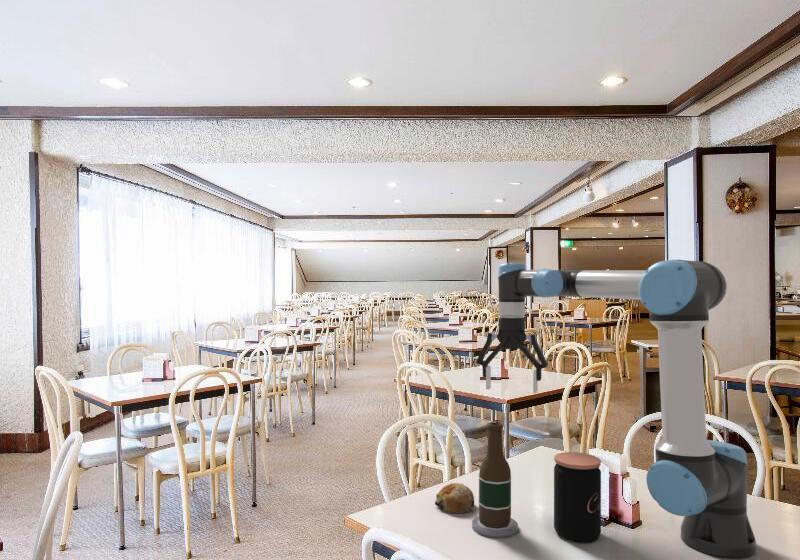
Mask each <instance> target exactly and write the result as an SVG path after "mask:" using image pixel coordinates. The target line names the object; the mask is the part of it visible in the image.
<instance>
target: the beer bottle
mask: <svg viewBox="0 0 800 560" xmlns="http://www.w3.org/2000/svg"><path fill="white" fill-rule="evenodd" d="M503 428H504V426H503V424H502V423H499V422H489V423H488V424H487V429H488V434H487V435H488V436H487V449H486V456H485V458H484V460H482V462H481V464H480V467H479V473H478V516H479V521H480V523H482V524H483V525H484V526H486V527H490V528H496V529H498V528H504V527H508V525H509V523H510V521H511V518H512V473H511V468H510V465H509V462H508V461H507V459H506V457H505V454H504V448H503V431H502V430H503Z"/></svg>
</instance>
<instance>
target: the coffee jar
mask: <svg viewBox="0 0 800 560" xmlns="http://www.w3.org/2000/svg"><path fill="white" fill-rule="evenodd" d="M553 459H554V462H555V464H554V467H553V527H554V531H555V532H556V533H557V536H559V538H561V539H563V540H565V541H567V542H571V543H576V544H591V543H594V542H596V541H597V540H598V539H599V538H600V536H601V533H602V472H601V471H602V470H601V469H600V467H601V464H602V463H601V462H602V460H601V458H599V457H597V456H596V455H592V454H589V453H584V452H575V451H572V452H571V451H568V452H560V453H557V454H555V455H554V457H553Z"/></svg>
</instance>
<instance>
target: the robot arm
mask: <svg viewBox="0 0 800 560" xmlns="http://www.w3.org/2000/svg"><path fill="white" fill-rule="evenodd" d="M497 280H498V281H497V283H498V310H497V311H498V313H497V314H498V316H499V317H498V323H497V325H498V328H497V329H498V330H497V331H498V332H497V333H493V332H489V333H487V335H486V340H485V343H484V344H483V345H484V346H482V349H481V351H480V353H479V355H478V357H477V359H476V364H477V365H480V366H481V367H482V377H483V378H485V390H488V391H489V390H490V389H491V387H492V384H491V383H492V378H491V377H492V376H491V375H492V374H491V373H492V370H491V369H492V367H491V365H489V364H490V363H491V362H492V361H493V359H494V358H495V357H496V356H497V355H498V354H499V353H500V352H501V350H503V349H506V350H510V349H511V350H518V349H519V350H520V351H521V352H522V353H523V354H524V356H525V357H526V358H527V359H528V360H529V361H530V363H531V364H532V365H533V366H534V367H535V368H534V369H532V370H533V371H532V372H533V374H532V376H533V378H532V379H533V388H532V389H533V393H534V394H536V393H538V392H539V391H538V388H539V387H538V385H539V384H538V382H540V381H541V380H542V370H543V369H545V368H547V367H548V366H549V363H548V361H547V358H546V357H545V354H544V353H543V351H542V348H541V347H540V345H539V343H538V340H537V334H536V333H532V334H526V318H525V317H524V316H525V315H526V297H532V298H533V297H534V298H538V297H539V298H543V299H545V298H554V297H556V298H557V297H571V298H572V297H573V298H597V299H598V298H600V299H619V300H620V299H621V300H635V301H636V300H637V301H638V300H639V301H640V302H641V304H642V305H644V308H646V309H647V310H648V311H649V323H650V324H651V325H653V326H654V328H656V330H657V338H658V339H657V341H658V345H657V346H658V364H659V365H658V366H659V388H660V389H659V390H660V411H661V412H660V413H661V436H662V438H661V439H660V440H659V441H658V442H657V443H655V447H654V448H655V462H653V463H652V465H651V466H650V467H649V468H648V470H647V472H646V485H647V486H646V487H647V489H648V492H649V494H650V496H651V497H652V499H653V500H654V501H655V502H656V503H657V504H658V506H659V507H660V508H662V509H663V510H664V511H666V512H667V513H669V514H671V515H675V516H677V517H683V520H682V523H681V526H680V539H681V540H682V542H684V544H685V545H687V546H689V548H693V549H694V550H697V551H699V552H700V553H701V552H702V553H705V554H708V555H711V556H716V557H719V558H720V557H722V558H728V559H744V558H749V557H752V556H754V555H755V554H756V553H757V540H756V538H755V537H756V536H755V534H754V531H753V528H752V526H751V523H750V520H749V517H748V513H747V510H748V509H747V504H748V503H747V502H748V500H747V499H748V494H747V493H748V492H747V491H748V490H747V489H748V465H749V464H748V461H747V452H746V450H744V448H742V447H741V446H738V445H737V444H736V445H735V444H733V443H728V442H724V441H723V442H722V441H719V440H712V439H707V428H706V427H707V426H706V425H707V423H706V406H705V405H706V403H705V401H706V400H705V384H704V383H705V382H704V380H705V379H704V360H703V359H704V357H703V338H702V337H703V336H702V329H703V327H705V326H706V325H707V324H708V323H709V322H710V317H709V316H710V315H709V313H710V312H709V311H710V310H712V309H714V308H715V307H717V306H718V305H720V304H721V302H722V301H723V300H724V298H725V296H726V294H727V281H726V277H725V276H724V274H723V273H722V271H721V270H720V269H719V267H717V266H716V265H713V264H712V263H710V262H706V261H701V260H685V259H684V260H683V259H667V260H662V261H658V262H655V263H653V264H652V265H651V266H649V267H648V268H647V269H646V270H642V269H641V270H638V269H636V270H635V269H634V270H632V269H628V270H624V269H623V270H622V269H621V270H619V269H615V270H613V269H610V270H609V269H608V270H607V269H606V270H603V269H601V270H600V269H599V270H597V269H596V270H595V269H594V270H593V269H592V270H591V269H590V270H589V269H587V270H586V269H585V270H583V269H582V270H578V269H569V270H568V269H566V270H565V269H560V270H558V269H552V268H551V269H550V268H542V269H541V268H540V269H526V266H525V264H524V263H522V262H518V263H517V262H506V263H501V264H499V266H498V276H497ZM496 339H497V340H498V342H499V344H497V346H496V347H495V348H494V350H493V351H492V352H491V353H490V354H489V355H488V356H487V353H488V351H489V348H491V345H492V343H493V341H495V340H496ZM526 340H528V342H530V343H531V345H532V347H533V350H534V351H535V354H536V356H537V358H538V359H539V361H540V362H539V361H538V359H537V358H536V356H534V354H533V353H532V352H531V351H530V349H528V347H527V346H526V344H525V342H526ZM486 356H487V358H486V359H485V357H486ZM484 359H485V360H484Z"/></svg>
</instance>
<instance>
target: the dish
mask: <svg viewBox="0 0 800 560" xmlns="http://www.w3.org/2000/svg"><path fill="white" fill-rule="evenodd" d="M471 528H472V530H473V532H475V533H476V534H478V535H480V536H483V537H487V538H493V539H505V538H509V537H510V538H511V537H513V536H515V535H516V534H517V533H518V532H519V524H518V522H517V521H516V519H514V518H512V517H511V521H510V523H509V525H508V527H504V528H498V529H496V528H490V527H486V526H484V525H483V524H482V523H480V521H479V515H477V516H475V517H473V519H472V520H471Z"/></svg>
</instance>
